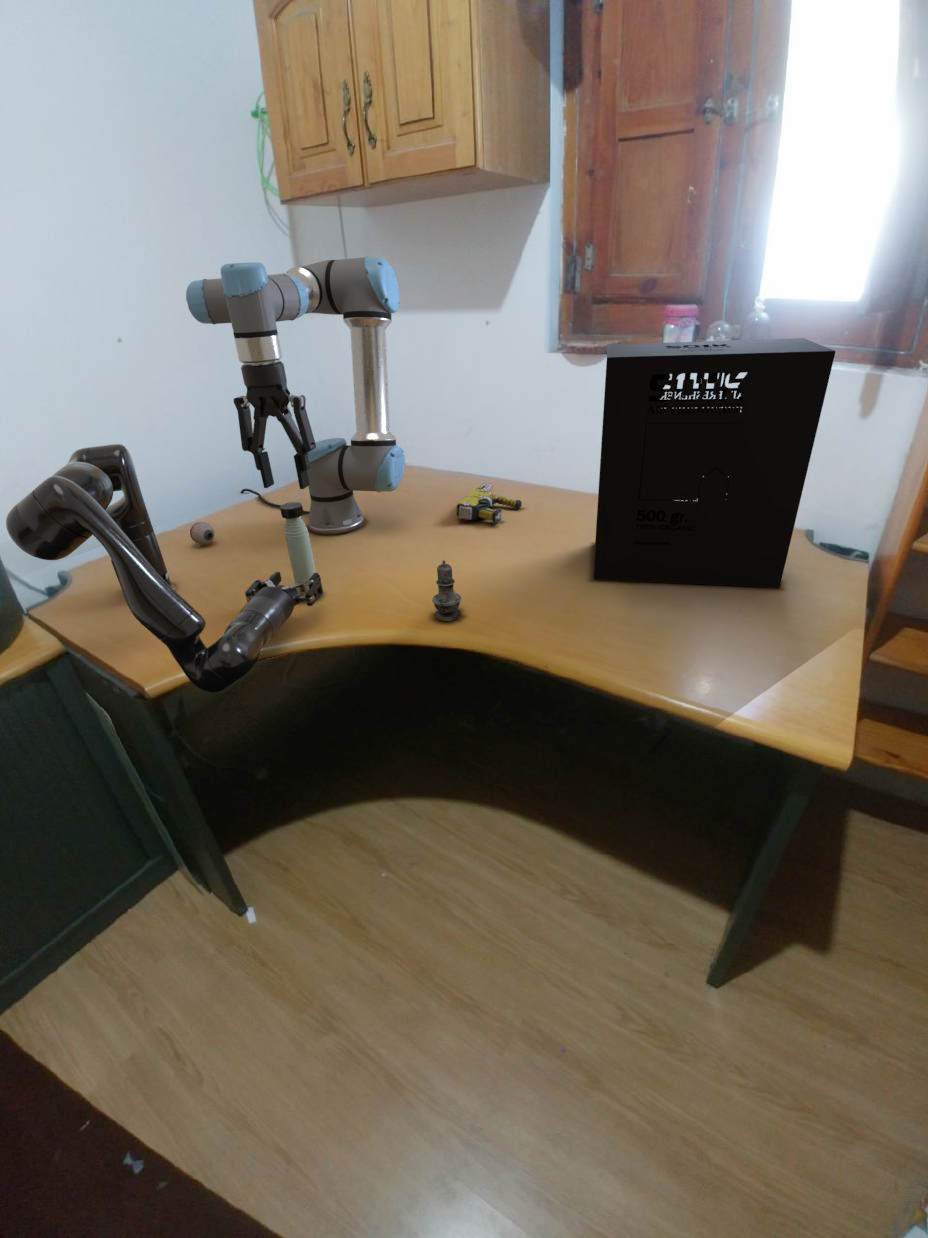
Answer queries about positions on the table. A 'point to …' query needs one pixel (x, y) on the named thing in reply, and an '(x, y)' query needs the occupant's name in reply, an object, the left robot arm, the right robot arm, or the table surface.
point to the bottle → (299, 550)
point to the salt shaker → (446, 595)
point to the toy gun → (483, 505)
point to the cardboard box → (706, 459)
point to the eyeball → (202, 533)
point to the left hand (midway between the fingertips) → (298, 576)
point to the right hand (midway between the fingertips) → (286, 486)
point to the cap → (291, 510)
